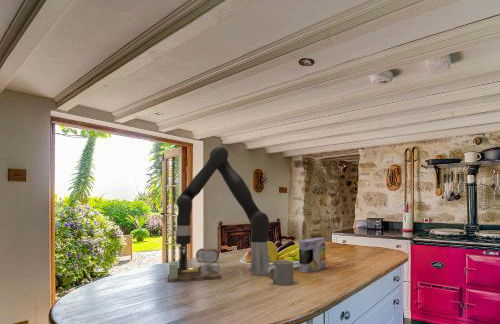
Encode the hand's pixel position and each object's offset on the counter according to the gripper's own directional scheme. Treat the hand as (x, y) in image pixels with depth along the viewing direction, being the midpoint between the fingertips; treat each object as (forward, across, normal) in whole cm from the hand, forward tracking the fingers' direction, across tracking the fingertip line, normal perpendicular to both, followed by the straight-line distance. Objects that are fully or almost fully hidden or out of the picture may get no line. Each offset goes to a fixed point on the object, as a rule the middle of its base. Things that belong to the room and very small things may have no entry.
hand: (182, 268), depth 174 cm
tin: (+6, +42, -18) cm, 46 cm away
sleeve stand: (+5, 0, -6) cm, 8 cm away
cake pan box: (+6, +1, -72) cm, 73 cm away
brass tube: (+3, 0, -4) cm, 5 cm away
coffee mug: (+6, -20, -45) cm, 50 cm away
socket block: (+4, 0, +5) cm, 6 cm away
